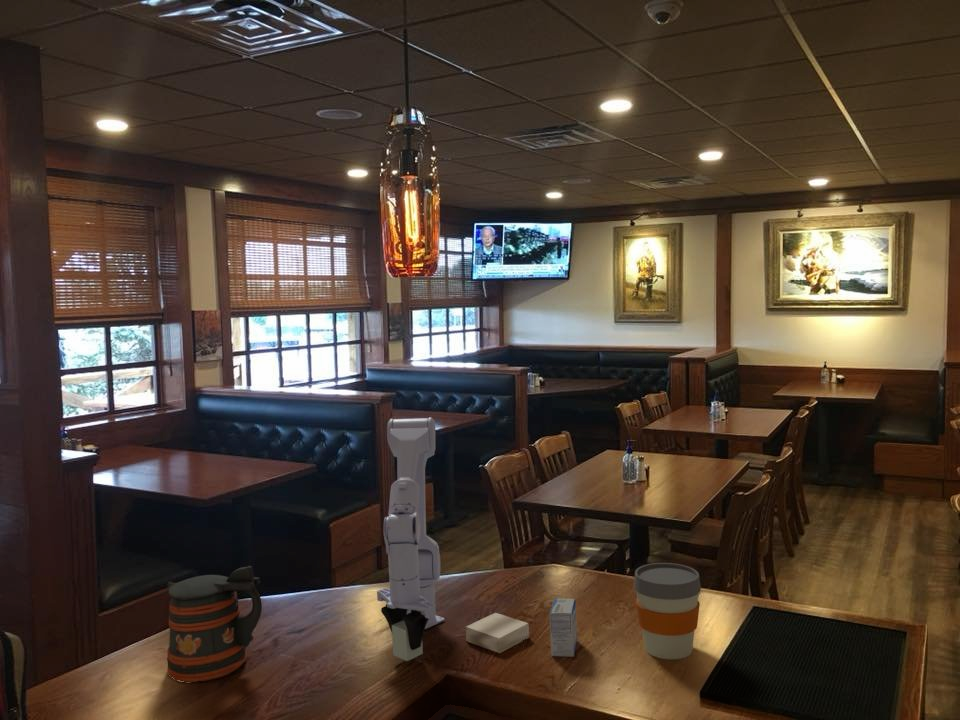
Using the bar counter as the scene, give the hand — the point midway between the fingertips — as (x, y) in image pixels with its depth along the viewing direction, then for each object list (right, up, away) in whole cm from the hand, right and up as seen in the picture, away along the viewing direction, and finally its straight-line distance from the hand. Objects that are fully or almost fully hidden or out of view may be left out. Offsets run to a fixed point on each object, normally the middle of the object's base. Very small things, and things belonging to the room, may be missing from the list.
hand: (407, 644), depth 152 cm
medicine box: (+30, -2, +3) cm, 31 cm away
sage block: (0, -2, 0) cm, 2 cm away
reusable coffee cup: (+50, -2, +1) cm, 50 cm away
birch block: (+17, -2, +9) cm, 20 cm away
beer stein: (-37, -5, +2) cm, 37 cm away
